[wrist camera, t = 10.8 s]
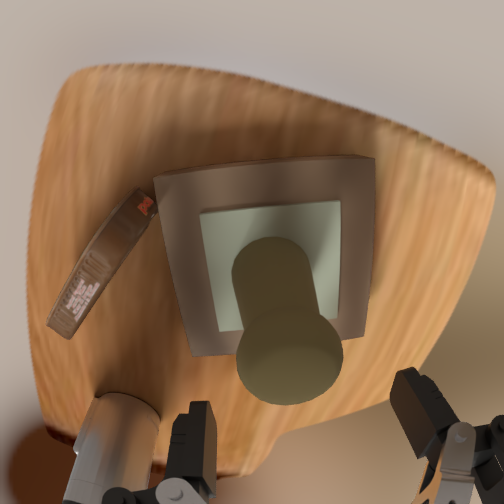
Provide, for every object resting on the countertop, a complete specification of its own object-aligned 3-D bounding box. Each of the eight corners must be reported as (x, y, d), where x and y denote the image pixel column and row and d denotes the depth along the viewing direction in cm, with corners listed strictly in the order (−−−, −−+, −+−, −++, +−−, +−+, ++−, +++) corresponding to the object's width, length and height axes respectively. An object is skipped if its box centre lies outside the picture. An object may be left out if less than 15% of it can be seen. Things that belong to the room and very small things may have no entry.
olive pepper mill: (255, 320, 24) (266, 433, 14) (215, 261, 22) (198, 367, 11) (322, 286, 23) (373, 389, 13) (289, 221, 21) (335, 305, 11)
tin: (148, 176, 23) (106, 197, 15) (175, 200, 24) (146, 232, 16) (71, 289, 27) (31, 336, 19) (93, 308, 28) (59, 359, 20)
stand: (196, 333, 29) (192, 359, 25) (165, 171, 23) (151, 178, 19) (352, 315, 29) (365, 339, 25) (356, 154, 23) (377, 159, 19)
